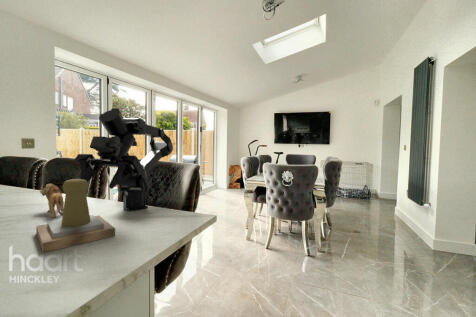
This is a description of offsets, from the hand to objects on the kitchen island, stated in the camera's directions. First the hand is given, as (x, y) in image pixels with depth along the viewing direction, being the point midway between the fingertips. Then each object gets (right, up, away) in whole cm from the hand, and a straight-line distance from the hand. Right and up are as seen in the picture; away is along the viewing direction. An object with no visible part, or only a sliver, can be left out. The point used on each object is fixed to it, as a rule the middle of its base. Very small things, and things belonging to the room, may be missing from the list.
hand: (94, 187), depth 66 cm
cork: (-1, -9, -6) cm, 10 cm away
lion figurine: (-21, -10, +12) cm, 26 cm away
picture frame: (-1, -11, -6) cm, 13 cm away
